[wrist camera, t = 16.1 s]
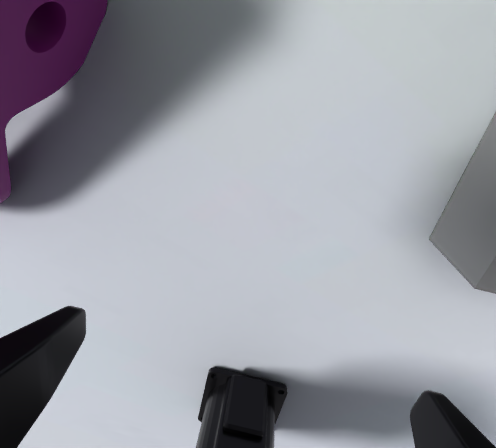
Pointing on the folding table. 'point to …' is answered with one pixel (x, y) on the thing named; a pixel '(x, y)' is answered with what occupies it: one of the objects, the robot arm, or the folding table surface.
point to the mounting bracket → (40, 55)
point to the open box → (473, 218)
